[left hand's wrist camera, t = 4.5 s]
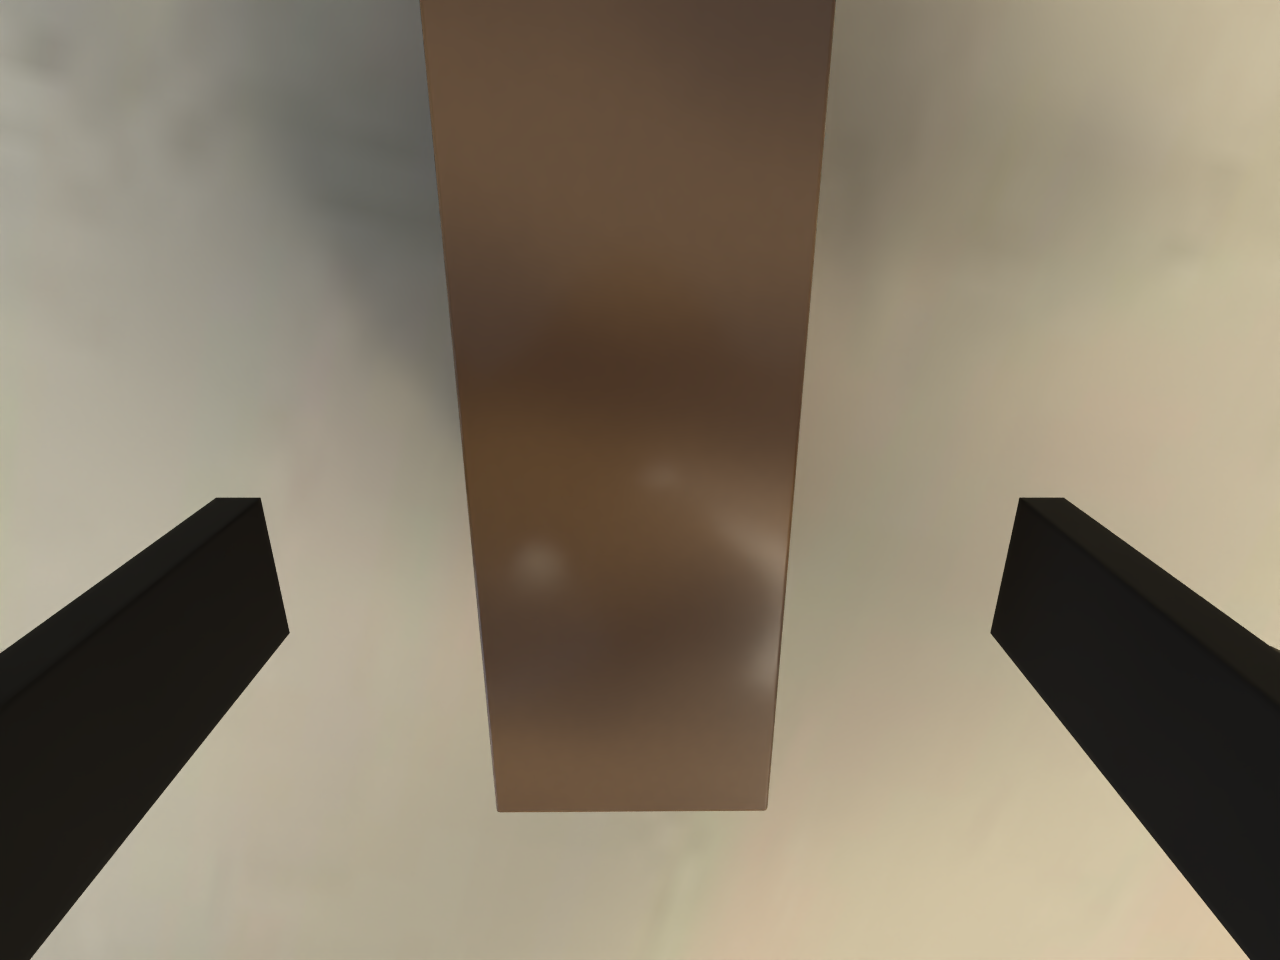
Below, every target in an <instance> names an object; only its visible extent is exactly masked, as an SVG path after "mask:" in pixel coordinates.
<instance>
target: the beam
mask: <svg viewBox="0 0 1280 960" xmlns="http://www.w3.org/2000/svg"><path fill="white" fill-rule="evenodd" d="M835 4H836V0H420V10H421V21H422V31H423V42H424V52H425V63H426V73H427V84H428V94H429V105H430V115H431V126H432V136H433V147H434V157H435V168H436V178H437V189H438V199H439V210H440V220H441V230H442V241H443V251H444V262H445V272H446V283H447V293H448V304H449V314H450V325H451V335H452V346H453V356H454V367H455V377H456V388H457V398H458V409H459V419H460V430H461V440H462V451H463V461H464V471H465V482H466V492H467V503H468V513H469V524H470V534H471V545H472V555H473V566H474V576H475V587H476V597H477V608H478V618H479V629H480V639H481V650H482V660H483V671H484V681H485V692H486V702H487V712H488V723H489V733H490V744H491V754H492V765H493V775H494V786H495V796H496V807H497V811H498V812H612V811H764V810H766V809H767V805H768V794H769V782H770V770H771V758H772V747H773V735H774V723H775V711H776V699H777V688H778V676H779V664H780V652H781V640H782V629H783V617H784V605H785V593H786V581H787V570H788V558H789V546H790V534H791V522H792V511H793V499H794V487H795V475H796V463H797V452H798V440H799V428H800V416H801V405H802V393H803V381H804V369H805V357H806V346H807V334H808V322H809V310H810V298H811V287H812V275H813V263H814V251H815V239H816V228H817V216H818V204H819V192H820V180H821V169H822V157H823V145H824V133H825V121H826V110H827V98H828V86H829V74H830V63H831V51H832V39H833V27H834V15H835Z"/></svg>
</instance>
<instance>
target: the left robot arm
mask: <svg viewBox="0 0 1280 960" xmlns="http://www.w3.org/2000/svg"><path fill="white" fill-rule="evenodd" d="M288 634H289V628H288V623H287V619H286V614H285V609H284V605H283V600H282V595H281V591H280V586H279V581H278V577H277V572H276V568H275V563H274V558H273V554H272V549H271V544H270V540H269V535H268V530H267V526H266V521H265V516H264V512H263V507H262V503H261V498H215V499H214V500H212V501H211V502H210V503H208V504H207V505H205V506H204V507H203V508H201V509H200V510H198V511H197V512H196V513H194V514H193V515H192V516H190V517H189V518H187V519H186V520H185V521H183V522H182V523H180V524H179V525H178V526H176V527H175V528H174V529H172V530H171V531H169V532H168V533H167V534H165V535H164V536H162V537H161V538H160V539H158V540H157V541H155V542H154V543H153V544H151V545H150V546H149V547H147V548H146V549H144V550H143V551H142V552H140V553H139V554H137V555H136V556H135V557H133V558H132V559H130V560H129V561H128V562H126V563H125V564H124V565H122V566H121V567H119V568H118V569H117V570H115V571H114V572H112V573H111V574H110V575H108V576H107V577H106V578H104V579H103V580H101V581H100V582H99V583H97V584H96V585H94V586H93V587H92V588H90V589H89V590H87V591H86V592H85V593H83V594H82V595H81V596H79V597H78V598H76V599H75V600H74V601H72V602H71V603H69V604H68V605H67V606H65V607H64V608H63V609H61V610H60V611H58V612H57V613H56V614H54V615H53V616H51V617H50V618H49V619H47V620H46V621H44V622H43V623H42V624H40V625H39V626H38V627H36V628H35V629H33V630H32V631H31V632H29V633H28V634H26V635H25V636H24V637H22V638H21V639H20V640H18V641H17V642H15V643H14V644H13V645H11V646H10V647H8V648H7V649H6V650H4V651H3V652H1V653H0V960H30V959H31V958H32V956H33V955H34V954H35V953H36V951H37V950H38V949H39V948H40V946H41V945H42V944H43V942H44V941H45V940H46V939H47V937H48V936H49V935H50V934H51V932H52V931H53V930H54V929H55V927H56V926H57V925H58V924H59V922H60V921H61V920H62V919H63V917H64V916H65V915H66V914H67V912H68V911H69V910H70V909H71V907H72V906H73V905H74V903H75V902H76V901H77V900H78V898H79V897H80V896H81V895H82V893H83V892H84V891H85V890H86V888H87V887H88V886H89V885H90V883H91V882H92V881H93V880H94V878H95V877H96V876H97V875H98V873H99V872H100V871H101V870H102V868H103V867H104V866H105V864H106V863H107V862H108V861H109V859H110V858H111V857H112V856H113V854H114V853H115V852H116V851H117V849H118V848H119V847H120V846H121V844H122V843H123V842H124V841H125V839H126V838H127V837H128V836H129V834H130V833H131V832H132V831H133V829H134V828H135V827H136V826H137V824H138V823H139V822H140V820H141V819H142V818H143V817H144V815H145V814H146V813H147V812H148V810H149V809H150V808H151V807H152V805H153V804H154V803H155V802H156V800H157V799H158V798H159V797H160V795H161V794H162V793H163V792H164V790H165V789H166V788H167V787H168V785H169V784H170V783H171V781H172V780H173V779H174V778H175V776H176V775H177V774H178V773H179V771H180V770H181V769H182V768H183V766H184V765H185V764H186V763H187V761H188V760H189V759H190V758H191V756H192V755H193V754H194V753H195V751H196V750H197V749H198V748H199V746H200V745H201V744H202V742H203V741H204V740H205V739H206V737H207V736H208V735H209V734H210V732H211V731H212V730H213V729H214V727H215V726H216V725H217V724H218V722H219V721H220V720H221V719H222V717H223V716H224V715H225V714H226V712H227V711H228V710H229V709H230V707H231V706H232V705H233V704H234V702H235V701H236V700H237V698H238V697H239V696H240V695H241V693H242V692H243V691H244V690H245V688H246V687H247V686H248V685H249V683H250V682H251V681H252V680H253V678H254V677H255V676H256V675H257V673H258V672H259V671H260V670H261V668H262V667H263V666H264V665H265V663H266V662H267V661H268V659H269V658H270V657H271V656H272V654H273V653H274V652H275V651H276V649H277V648H278V647H279V646H280V644H281V643H282V642H283V641H284V639H285V638H286V637H287V636H288ZM991 634H992V636H993V637H994V638H995V639H996V641H997V642H998V643H999V644H1000V646H1001V647H1002V648H1003V649H1004V651H1005V652H1006V653H1007V654H1008V656H1009V657H1010V658H1011V659H1012V661H1013V662H1014V663H1015V665H1016V666H1017V667H1018V668H1019V670H1020V671H1021V672H1022V673H1023V675H1024V676H1025V677H1026V678H1027V680H1028V681H1029V682H1030V683H1031V685H1032V686H1033V687H1034V688H1035V690H1036V691H1037V692H1038V693H1039V695H1040V696H1041V697H1042V698H1043V700H1044V701H1045V702H1046V704H1047V705H1048V706H1049V707H1050V709H1051V710H1052V711H1053V712H1054V714H1055V715H1056V716H1057V717H1058V719H1059V720H1060V721H1061V722H1062V724H1063V725H1064V726H1065V727H1066V729H1067V730H1068V731H1069V732H1070V734H1071V735H1072V736H1073V737H1074V739H1075V740H1076V741H1077V742H1078V744H1079V745H1080V746H1081V748H1082V749H1083V750H1084V751H1085V753H1086V754H1087V755H1088V756H1089V758H1090V759H1091V760H1092V761H1093V763H1094V764H1095V765H1096V766H1097V768H1098V769H1099V770H1100V771H1101V773H1102V774H1103V775H1104V776H1105V778H1106V779H1107V780H1108V781H1109V783H1110V784H1111V785H1112V787H1113V788H1114V789H1115V790H1116V792H1117V793H1118V794H1119V795H1120V797H1121V798H1122V799H1123V800H1124V802H1125V803H1126V804H1127V805H1128V807H1129V808H1130V809H1131V810H1132V812H1133V813H1134V814H1135V815H1136V817H1137V818H1138V819H1139V820H1140V822H1141V823H1142V824H1143V826H1144V827H1145V828H1146V829H1147V831H1148V832H1149V833H1150V834H1151V836H1152V837H1153V838H1154V839H1155V841H1156V842H1157V843H1158V844H1159V846H1160V847H1161V848H1162V849H1163V851H1164V852H1165V853H1166V854H1167V856H1168V857H1169V858H1170V859H1171V861H1172V862H1173V863H1174V864H1175V866H1176V867H1177V868H1178V870H1179V871H1180V872H1181V873H1182V875H1183V876H1184V877H1185V878H1186V880H1187V881H1188V882H1189V883H1190V885H1191V886H1192V887H1193V888H1194V890H1195V891H1196V892H1197V893H1198V895H1199V896H1200V897H1201V898H1202V900H1203V901H1204V902H1205V903H1206V905H1207V906H1208V907H1209V909H1210V910H1211V911H1212V912H1213V914H1214V915H1215V916H1216V917H1217V919H1218V920H1219V921H1220V922H1221V924H1222V925H1223V926H1224V927H1225V929H1226V930H1227V931H1228V932H1229V934H1230V935H1231V936H1232V937H1233V939H1234V940H1235V941H1236V942H1237V944H1238V945H1239V946H1240V948H1241V949H1242V950H1243V951H1244V953H1245V954H1246V955H1247V956H1248V958H1249V959H1250V960H1280V650H1278V649H1276V648H1274V647H1272V646H1269V645H1267V644H1266V643H1265V642H1263V641H1262V640H1260V639H1259V638H1258V637H1256V636H1255V635H1254V634H1252V633H1251V632H1249V631H1248V630H1247V629H1245V628H1244V627H1242V626H1241V625H1240V624H1238V623H1237V622H1236V621H1234V620H1233V619H1231V618H1230V617H1229V616H1227V615H1226V614H1224V613H1223V612H1222V611H1220V610H1219V609H1217V608H1216V607H1215V606H1213V605H1212V604H1211V603H1209V602H1208V601H1206V600H1205V599H1204V598H1202V597H1201V596H1199V595H1198V594H1197V593H1195V592H1194V591H1193V590H1191V589H1190V588H1188V587H1187V586H1186V585H1184V584H1183V583H1181V582H1180V581H1179V580H1177V579H1176V578H1174V577H1173V576H1172V575H1170V574H1169V573H1168V572H1166V571H1165V570H1163V569H1162V568H1161V567H1159V566H1158V565H1156V564H1155V563H1154V562H1152V561H1151V560H1150V559H1148V558H1147V557H1145V556H1144V555H1143V554H1141V553H1140V552H1138V551H1137V550H1136V549H1134V548H1133V547H1131V546H1130V545H1129V544H1127V543H1126V542H1125V541H1123V540H1122V539H1120V538H1119V537H1118V536H1116V535H1115V534H1113V533H1112V532H1111V531H1109V530H1108V529H1107V528H1105V527H1104V526H1102V525H1101V524H1100V523H1098V522H1097V521H1095V520H1094V519H1093V518H1091V517H1090V516H1088V515H1087V514H1086V513H1084V512H1083V511H1082V510H1080V509H1079V508H1077V507H1076V506H1075V505H1073V504H1072V503H1070V502H1069V501H1068V500H1066V499H1065V498H1019V503H1018V507H1017V512H1016V516H1015V521H1014V526H1013V530H1012V535H1011V540H1010V544H1009V549H1008V554H1007V558H1006V563H1005V568H1004V572H1003V577H1002V581H1001V586H1000V591H999V595H998V600H997V605H996V609H995V614H994V619H993V623H992V628H991Z"/></svg>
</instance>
